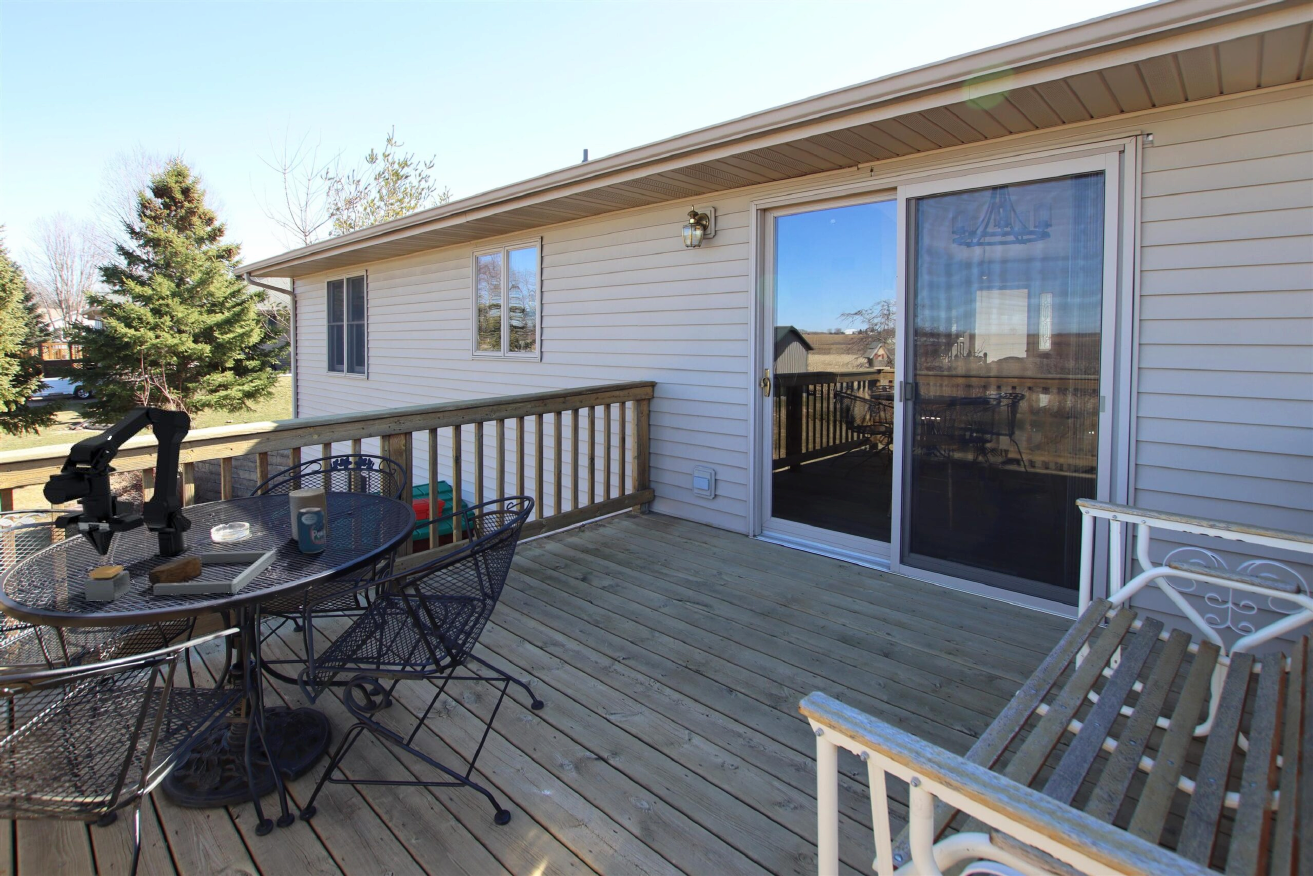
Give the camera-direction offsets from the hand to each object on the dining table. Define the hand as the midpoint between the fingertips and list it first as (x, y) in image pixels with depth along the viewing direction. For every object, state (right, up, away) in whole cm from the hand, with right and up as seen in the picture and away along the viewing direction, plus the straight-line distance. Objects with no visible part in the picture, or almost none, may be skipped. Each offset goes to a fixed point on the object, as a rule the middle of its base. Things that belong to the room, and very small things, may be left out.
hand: (103, 555), depth 170 cm
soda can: (+39, -3, +25) cm, 46 cm away
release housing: (+8, -8, -9) cm, 15 cm away
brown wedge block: (+17, -7, +2) cm, 18 cm away
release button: (+8, -7, -9) cm, 14 cm away
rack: (+25, -6, +4) cm, 26 cm away
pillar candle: (+32, -1, +37) cm, 49 cm away
